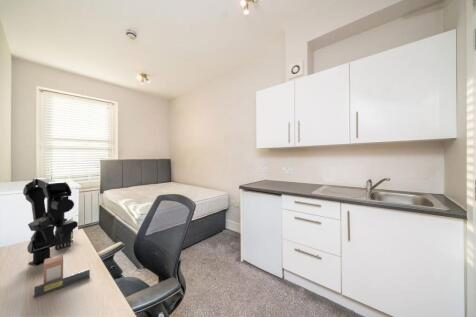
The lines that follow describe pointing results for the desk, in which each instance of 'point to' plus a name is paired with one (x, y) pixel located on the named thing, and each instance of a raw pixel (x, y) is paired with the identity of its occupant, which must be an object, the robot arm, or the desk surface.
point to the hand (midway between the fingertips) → (55, 242)
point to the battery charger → (58, 242)
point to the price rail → (61, 283)
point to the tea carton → (53, 268)
